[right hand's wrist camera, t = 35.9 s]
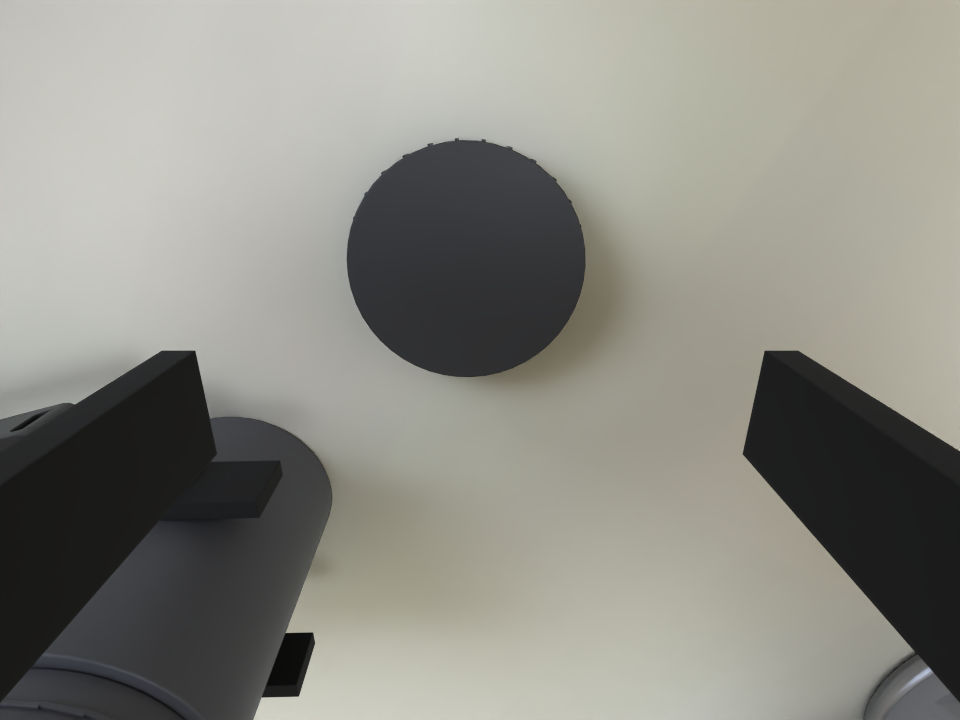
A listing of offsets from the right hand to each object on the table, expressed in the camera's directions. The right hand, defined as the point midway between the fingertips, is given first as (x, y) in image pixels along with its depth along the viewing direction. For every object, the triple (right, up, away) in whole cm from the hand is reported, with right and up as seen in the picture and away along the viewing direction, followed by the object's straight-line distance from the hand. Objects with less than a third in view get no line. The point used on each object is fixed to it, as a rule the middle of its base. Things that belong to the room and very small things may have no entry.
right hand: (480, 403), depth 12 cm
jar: (-13, -6, +16) cm, 22 cm away
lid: (-1, +5, +10) cm, 11 cm away
